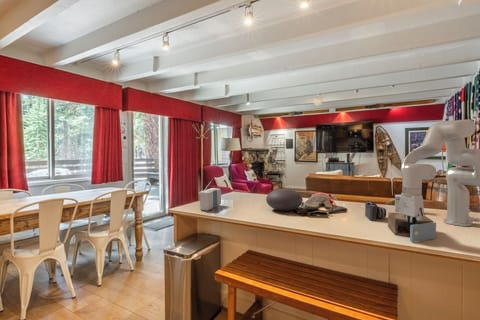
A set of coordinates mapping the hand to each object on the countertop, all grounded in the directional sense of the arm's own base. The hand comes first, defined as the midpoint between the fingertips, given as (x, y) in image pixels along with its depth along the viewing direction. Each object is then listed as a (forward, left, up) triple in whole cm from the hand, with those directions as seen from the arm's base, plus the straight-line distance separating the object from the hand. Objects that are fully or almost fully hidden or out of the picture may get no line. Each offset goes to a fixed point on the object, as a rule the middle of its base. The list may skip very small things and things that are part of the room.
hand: (411, 230), depth 124 cm
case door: (-5, +2, -4) cm, 6 cm away
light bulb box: (-13, -60, -4) cm, 62 cm away
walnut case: (-2, -11, -4) cm, 12 cm away
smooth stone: (+65, -43, -4) cm, 78 cm away
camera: (+8, -36, -4) cm, 37 cm away
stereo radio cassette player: (+117, -37, -4) cm, 123 cm away
